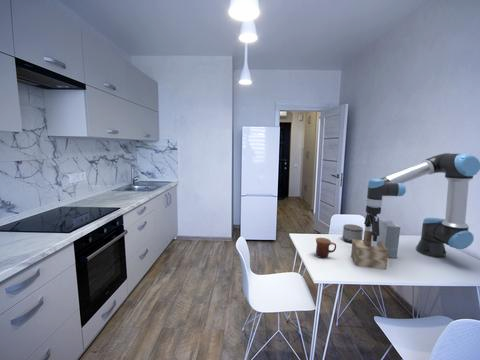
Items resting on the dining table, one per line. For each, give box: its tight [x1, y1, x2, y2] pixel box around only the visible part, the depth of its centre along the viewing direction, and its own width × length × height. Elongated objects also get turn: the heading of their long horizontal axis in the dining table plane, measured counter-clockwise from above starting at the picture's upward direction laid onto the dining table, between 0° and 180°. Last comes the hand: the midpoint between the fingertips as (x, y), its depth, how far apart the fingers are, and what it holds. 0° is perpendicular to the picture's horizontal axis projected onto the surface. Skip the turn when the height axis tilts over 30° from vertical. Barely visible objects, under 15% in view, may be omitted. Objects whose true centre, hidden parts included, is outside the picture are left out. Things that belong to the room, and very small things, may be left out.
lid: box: [352, 239, 388, 252], centre depth 138 cm, size 16×12×1 cm
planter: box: [342, 223, 364, 244], centre depth 171 cm, size 13×13×10 cm
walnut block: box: [362, 230, 374, 247], centre depth 137 cm, size 5×5×7 cm
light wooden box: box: [350, 242, 389, 270], centre depth 138 cm, size 16×12×10 cm
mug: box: [315, 237, 337, 259], centre depth 145 cm, size 12×9×10 cm
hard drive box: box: [377, 218, 401, 259], centre depth 152 cm, size 16×8×20 cm, turn 168°
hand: (370, 241), depth 137 cm, fingers open, 13 cm apart
